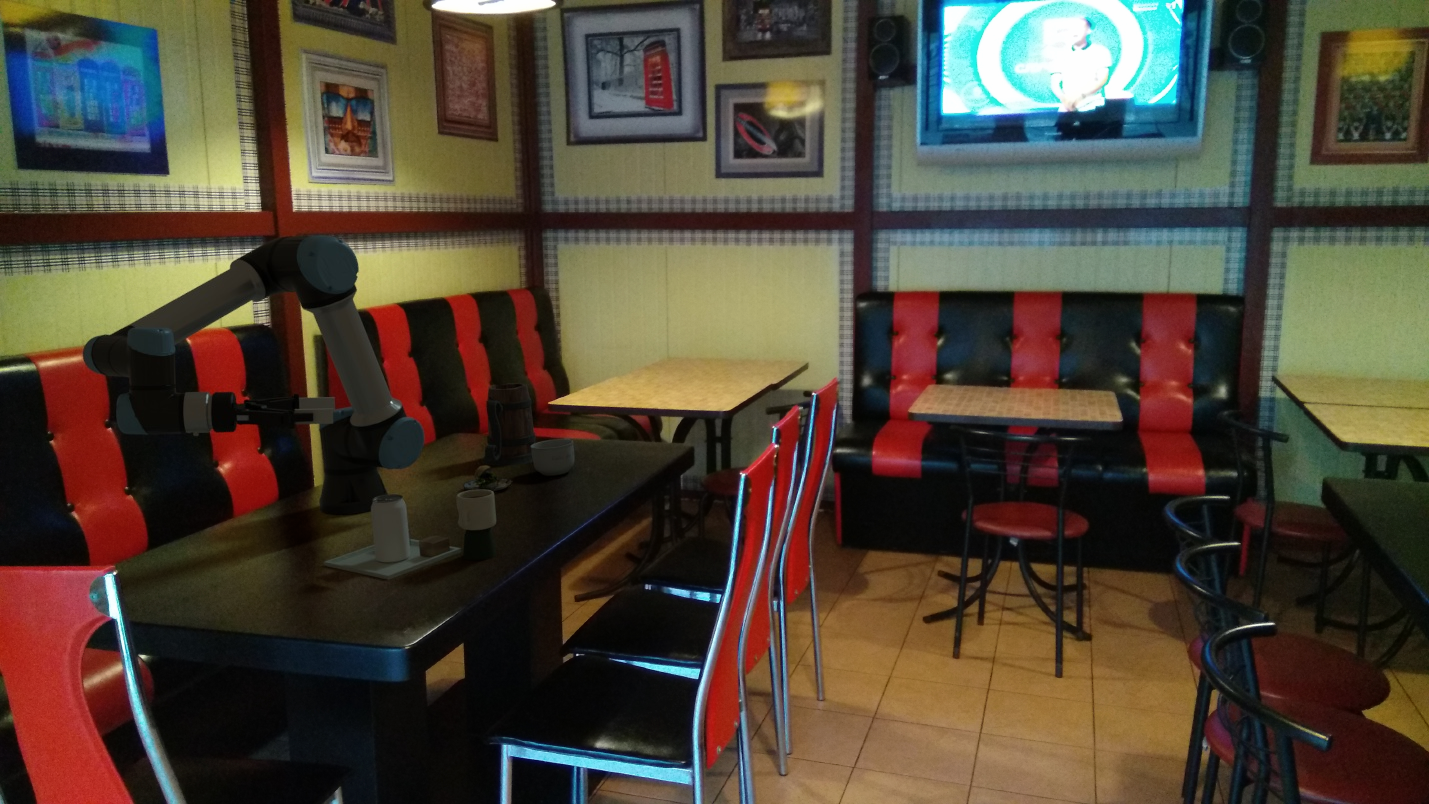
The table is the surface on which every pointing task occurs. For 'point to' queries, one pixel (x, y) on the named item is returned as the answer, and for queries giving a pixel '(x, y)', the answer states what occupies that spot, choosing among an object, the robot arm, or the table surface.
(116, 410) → the robot arm
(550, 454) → the teacup
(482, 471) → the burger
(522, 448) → the tankard
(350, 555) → the tray
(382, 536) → the can
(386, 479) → the table surface
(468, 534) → the character mug
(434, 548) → the walnut block
